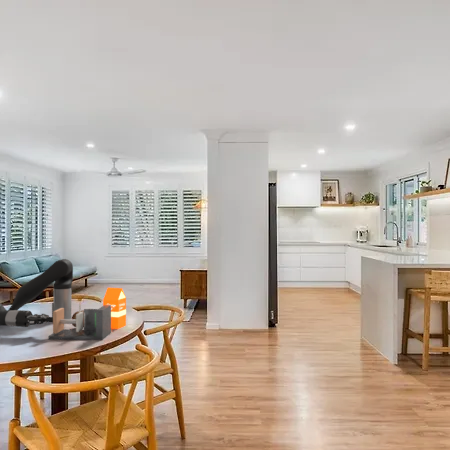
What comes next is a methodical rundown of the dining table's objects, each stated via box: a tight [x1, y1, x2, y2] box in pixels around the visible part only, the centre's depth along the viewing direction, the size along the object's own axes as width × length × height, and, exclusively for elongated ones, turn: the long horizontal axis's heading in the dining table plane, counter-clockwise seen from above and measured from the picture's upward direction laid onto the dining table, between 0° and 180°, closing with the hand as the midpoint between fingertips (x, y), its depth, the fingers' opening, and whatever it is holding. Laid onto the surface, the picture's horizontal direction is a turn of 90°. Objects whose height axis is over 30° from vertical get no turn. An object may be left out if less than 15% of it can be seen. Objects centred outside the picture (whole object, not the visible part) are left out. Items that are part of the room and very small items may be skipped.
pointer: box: [75, 302, 84, 332], centre depth 183 cm, size 1×6×13 cm, turn 178°
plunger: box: [52, 308, 76, 334], centre depth 183 cm, size 10×8×10 cm
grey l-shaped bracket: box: [47, 305, 112, 341], centre depth 184 cm, size 25×12×14 cm, turn 88°
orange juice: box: [102, 287, 127, 330], centre depth 202 cm, size 8×9×20 cm
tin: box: [71, 309, 84, 328], centre depth 203 cm, size 15×3×8 cm, turn 148°
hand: (55, 319), depth 184 cm, fingers closed
